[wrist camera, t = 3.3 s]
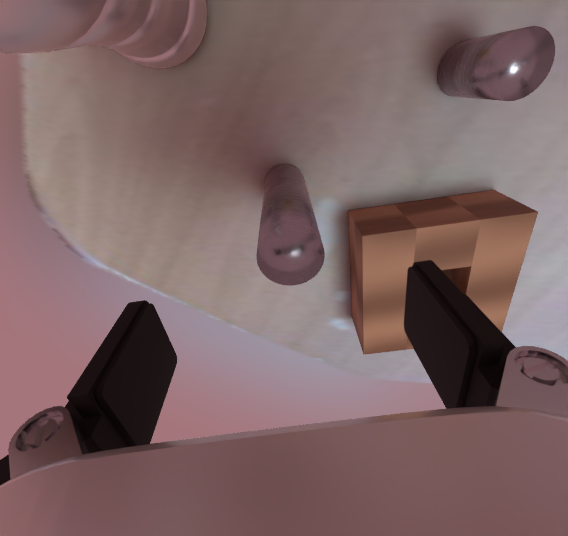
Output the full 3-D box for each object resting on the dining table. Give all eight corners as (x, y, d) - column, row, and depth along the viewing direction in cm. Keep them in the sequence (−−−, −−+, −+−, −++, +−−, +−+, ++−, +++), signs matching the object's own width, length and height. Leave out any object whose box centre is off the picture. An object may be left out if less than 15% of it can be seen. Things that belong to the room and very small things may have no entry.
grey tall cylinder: (261, 167, 24) (250, 231, 14) (302, 160, 24) (321, 221, 14) (268, 206, 26) (263, 289, 15) (306, 200, 25) (326, 280, 15)
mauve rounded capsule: (440, 44, 20) (495, 32, 15) (490, 36, 20) (563, 20, 15) (434, 99, 22) (483, 105, 17) (481, 92, 22) (544, 95, 17)
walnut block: (348, 210, 26) (362, 236, 22) (494, 189, 25) (538, 211, 21) (352, 318, 32) (363, 354, 28) (469, 303, 32) (499, 338, 27)
